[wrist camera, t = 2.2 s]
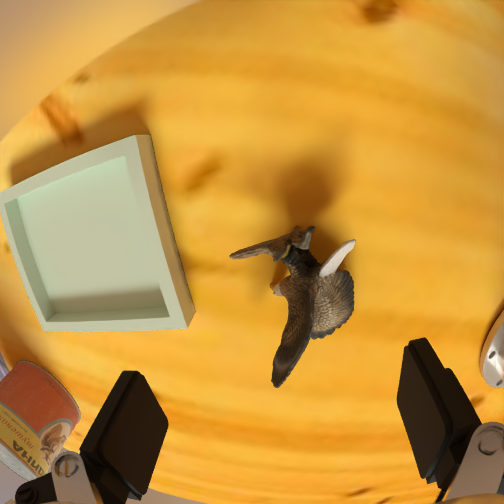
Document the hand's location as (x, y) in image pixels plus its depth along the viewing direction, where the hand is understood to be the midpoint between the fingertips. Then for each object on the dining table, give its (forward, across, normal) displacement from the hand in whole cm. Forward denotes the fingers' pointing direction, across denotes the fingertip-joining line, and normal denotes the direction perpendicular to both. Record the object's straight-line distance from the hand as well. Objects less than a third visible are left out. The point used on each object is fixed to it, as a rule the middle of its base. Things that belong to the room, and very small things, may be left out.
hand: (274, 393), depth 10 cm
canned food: (+12, +32, +14) cm, 37 cm away
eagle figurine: (+12, -2, +2) cm, 12 cm away
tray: (+12, +14, -4) cm, 19 cm away
